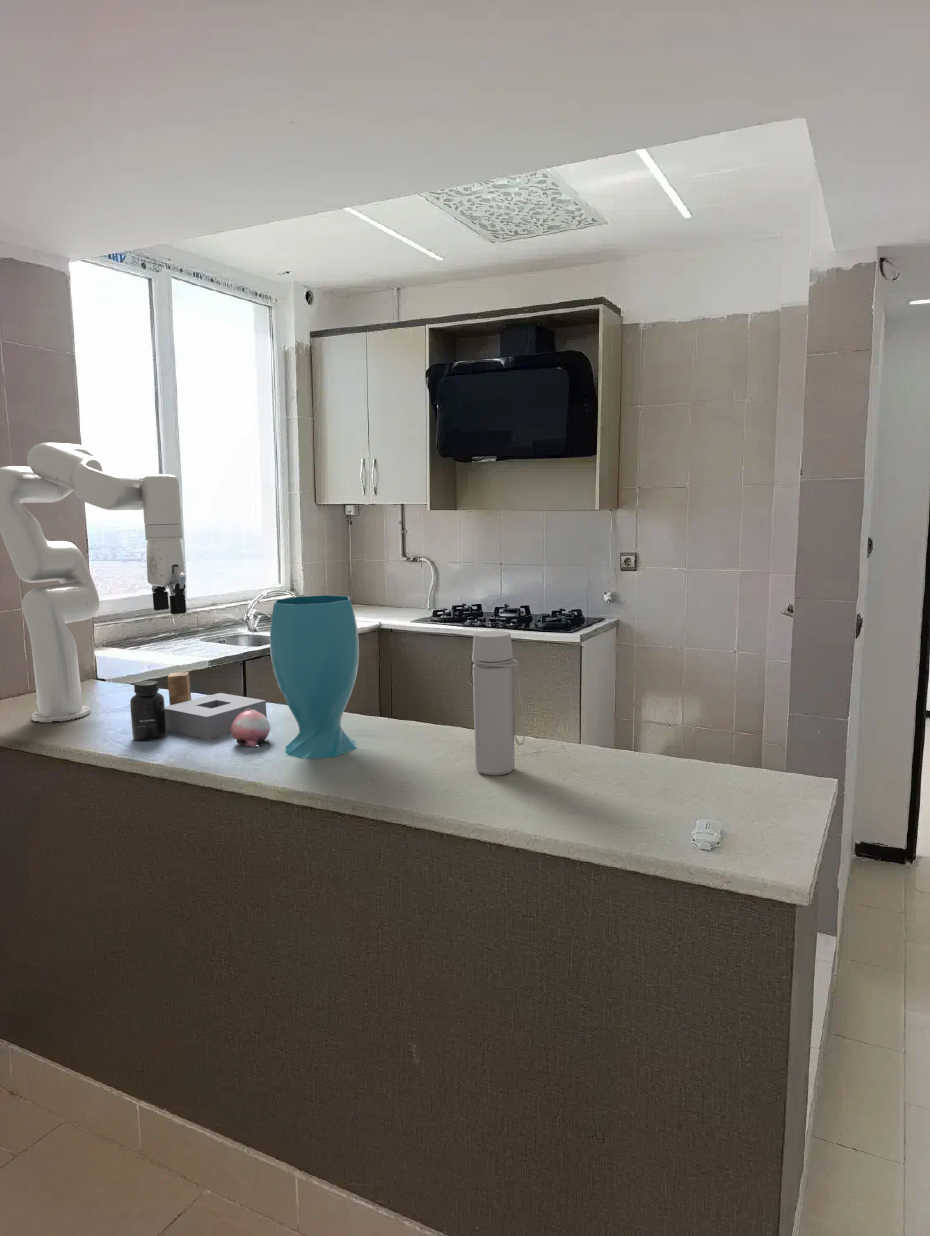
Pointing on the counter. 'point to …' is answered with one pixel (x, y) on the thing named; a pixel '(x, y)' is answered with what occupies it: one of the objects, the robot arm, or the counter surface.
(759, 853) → the counter surface
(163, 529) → the robot arm
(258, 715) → the pink round piece
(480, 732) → the water bottle
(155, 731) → the supplement bottle
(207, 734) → the socket block
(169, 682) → the peg
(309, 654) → the vase
